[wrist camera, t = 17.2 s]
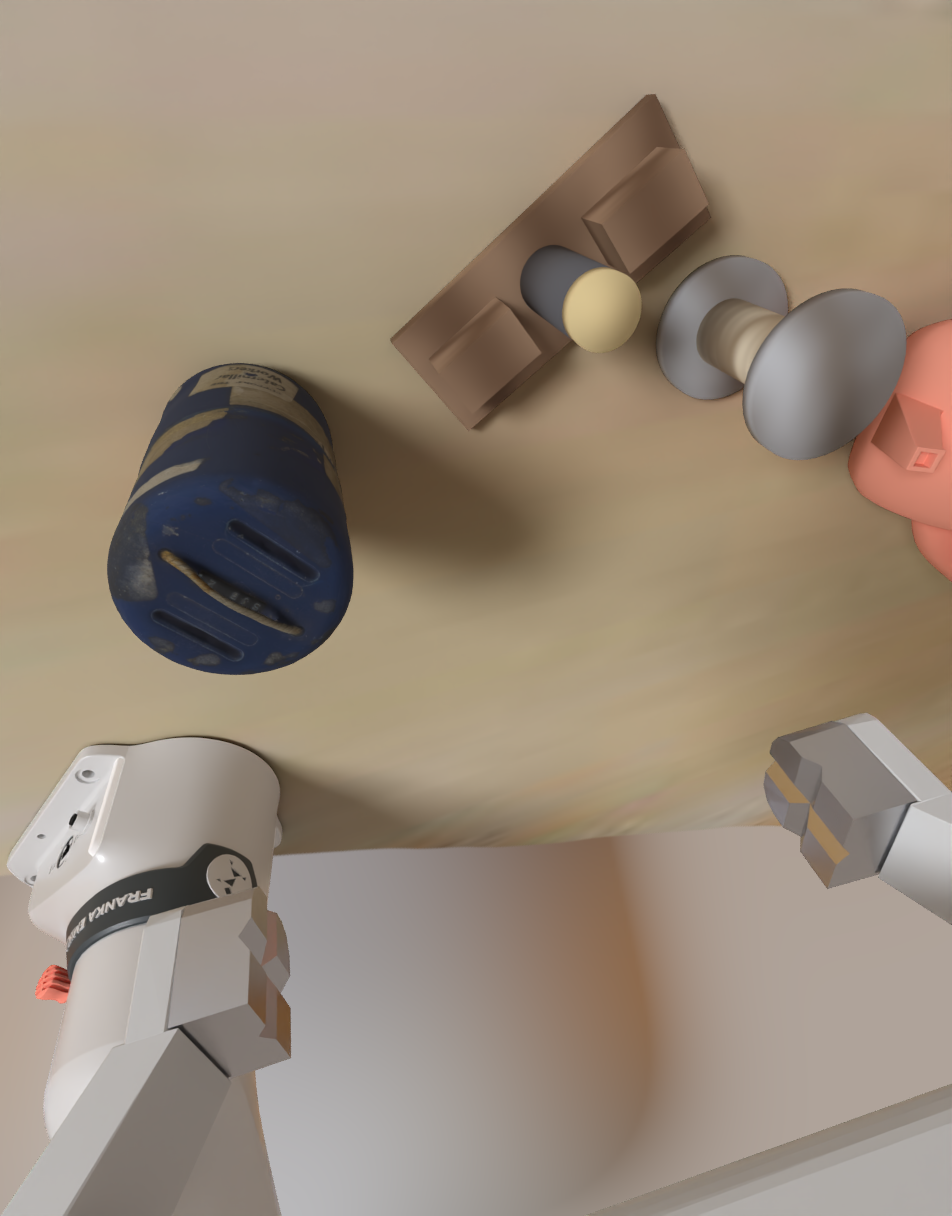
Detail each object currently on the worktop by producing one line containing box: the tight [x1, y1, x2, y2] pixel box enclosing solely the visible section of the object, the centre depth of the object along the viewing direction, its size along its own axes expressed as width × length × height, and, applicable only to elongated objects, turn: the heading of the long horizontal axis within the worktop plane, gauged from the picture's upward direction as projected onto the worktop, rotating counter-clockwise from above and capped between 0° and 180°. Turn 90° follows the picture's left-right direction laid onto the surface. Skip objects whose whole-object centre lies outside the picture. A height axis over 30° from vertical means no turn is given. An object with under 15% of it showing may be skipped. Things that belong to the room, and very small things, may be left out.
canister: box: [107, 363, 353, 675], centre depth 33 cm, size 10×10×18 cm
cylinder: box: [520, 245, 642, 353], centre depth 34 cm, size 4×4×8 cm
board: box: [390, 94, 711, 431], centre depth 37 cm, size 18×7×4 cm, turn 129°
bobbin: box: [656, 255, 907, 460], centre depth 38 cm, size 8×8×11 cm
